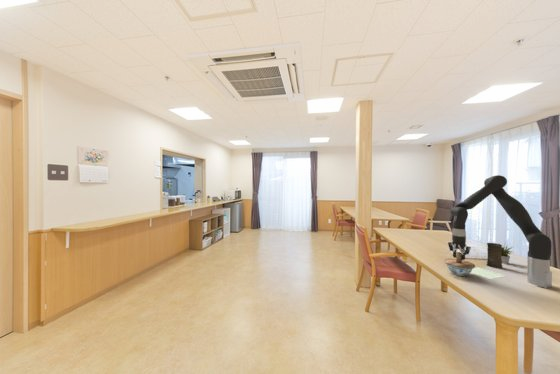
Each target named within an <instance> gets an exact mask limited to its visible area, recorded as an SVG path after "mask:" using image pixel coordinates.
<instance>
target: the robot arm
mask: <svg viewBox="0 0 560 374" xmlns="http://www.w3.org/2000/svg"><path fill="white" fill-rule="evenodd" d="M507 184H508V179H507V178H506V177H505V176H503V175H500V174H499V175H493V176H491V177H490V176H489V177H488V178H486V179H485V180H484V182H483V185H484V186H483V187H481V188H480V189H479V190H477V191H475V192H474V193H471V195H469V196H468V197H467V198H465V199H464V200H463V201H461V202H459V203H456V204H455V205H454V206H452V208H451V209H450V211H449V212H450V215H452V216H453V217H456V218H455V219H454V220H452V231H451V232H452V233H451V237H452V239H451V241H449V242H447V244H448V248H449V251H450V252H452V256H453V259H456V252H458V250H459V252H460V253H461V254H462V255H461V260H464V261H466V256H467V255H470V251H471V249H472V248H471V246H468V245H467V239H466V238H467V234H466V233H467V231H466V222H467V220H468V216H469V213H468V210H472V209H474V208H475V207H476V206H477V205H479V204H480V203H481V202H483V201H484V200H485V199H487V197H488V198H489V196H490V195H492V196H493V198H495V199H496V201H497V202H498V203H499V205H500V206H501V207H502V208H503V210H504V211H505V213H506V214H507V215H508V217H509V218H510V219H511V220H512V221H513V223H515V224H516V225H517V227H519V229H520V230H521V232H522V233H523V235H524V237H525V239H526V241H527V242H528V251H527V283H529V284H531V285H534V286H536V287H540V288H545V289H548V288H552V287H553V284H552V283H553V272H552V271H551V256H552V239H551V238H550V237H549V236H547V235H546V234H545V233H543V232H542V230H540V229H539V227H538V226H536V225H535V223H534V221H533V219H532V217H531V215H530V213H529V212H528V210H527V209H526V207H525V206H524V205H523V204H522V203H521V202H520V201H519V200H517V199H516V198H515V197H513V196H512V195H510V194H509V193H508V192H506V190H505V189H504V187H506V185H507Z"/></svg>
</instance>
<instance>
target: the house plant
mask: <svg viewBox="0 0 560 374" xmlns="http://www.w3.org/2000/svg"><path fill="white" fill-rule="evenodd" d="M505 244H506V243H504V245H503V246H502V248H501V250H502V251H501V259H502V265H503V264H504V265H508V264H510V258H511V256H510V255H511V253H513V250H512V251H511V249H512V248H513V246H511V247H509V248H508V245H505Z"/></svg>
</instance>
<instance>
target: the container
mask: <svg viewBox="0 0 560 374" xmlns="http://www.w3.org/2000/svg"><path fill="white" fill-rule="evenodd" d="M486 247H487V249H486V250H487V258H486V260H487V261H486V266H487V267H490V268H492V269H498V270H499V269H503V263H502V259H501V251H502V250H501V248H502V247H503V245H502V244H500V243H495V242H487V243H486Z"/></svg>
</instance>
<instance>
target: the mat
mask: <svg viewBox="0 0 560 374" xmlns="http://www.w3.org/2000/svg"><path fill="white" fill-rule="evenodd" d="M470 273H471V274H473V275H476V276H479V277H483V278H485V279H488V280H493V279H499V278H504V277H506V275H504V274H502V273H498V272H494V271H492V270H488V269H485V268H482V267H479V266H478V267H477V266H475V268H473V269H472V271H471V272H470ZM470 273H469V274H470Z"/></svg>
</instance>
